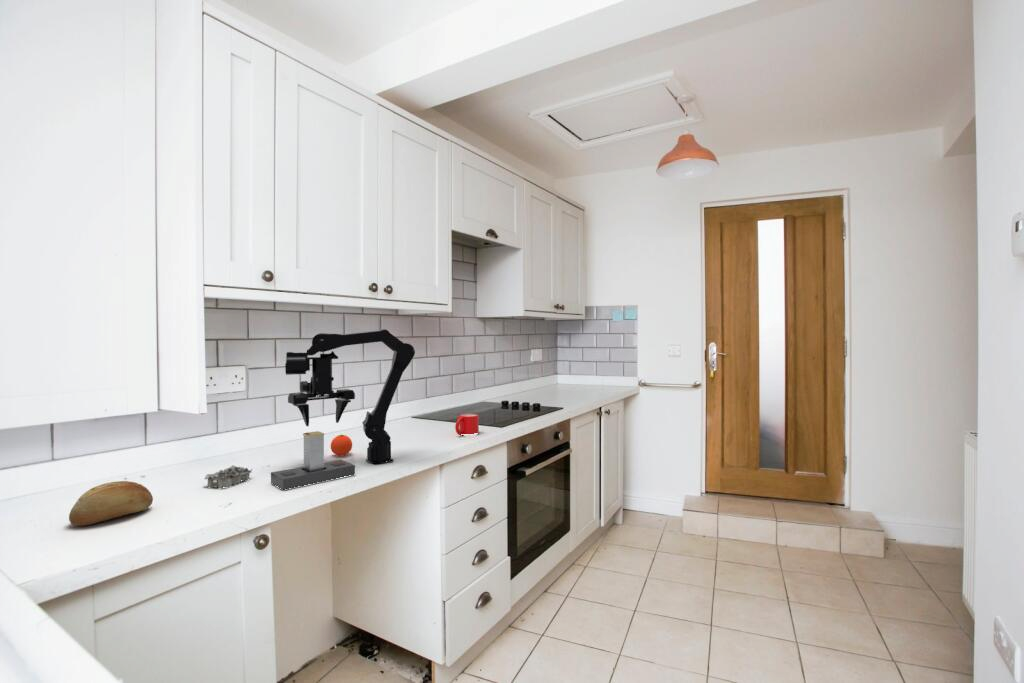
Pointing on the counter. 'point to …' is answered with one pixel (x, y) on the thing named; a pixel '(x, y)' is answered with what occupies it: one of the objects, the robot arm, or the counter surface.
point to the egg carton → (228, 477)
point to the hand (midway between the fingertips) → (322, 424)
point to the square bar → (313, 451)
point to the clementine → (341, 445)
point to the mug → (467, 424)
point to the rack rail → (311, 474)
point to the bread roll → (110, 502)
